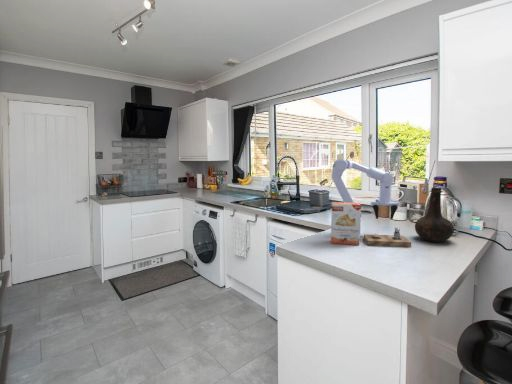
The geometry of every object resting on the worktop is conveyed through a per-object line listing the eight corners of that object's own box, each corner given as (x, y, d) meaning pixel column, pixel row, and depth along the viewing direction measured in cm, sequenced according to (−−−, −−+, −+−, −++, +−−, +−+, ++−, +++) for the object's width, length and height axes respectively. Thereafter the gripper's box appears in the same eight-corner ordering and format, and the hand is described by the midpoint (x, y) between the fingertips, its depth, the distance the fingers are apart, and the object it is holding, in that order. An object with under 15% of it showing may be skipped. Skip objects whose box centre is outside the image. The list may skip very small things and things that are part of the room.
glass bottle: (433, 246, 143) (437, 190, 140) (406, 236, 160) (409, 186, 157) (461, 243, 148) (466, 188, 144) (432, 234, 165) (435, 185, 162)
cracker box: (330, 243, 148) (331, 203, 146) (330, 240, 154) (331, 201, 152) (359, 245, 145) (361, 204, 143) (358, 242, 151) (359, 202, 148)
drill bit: (394, 244, 147) (395, 228, 146) (392, 242, 150) (393, 227, 149) (400, 244, 147) (401, 228, 146) (398, 242, 150) (399, 227, 149)
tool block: (368, 245, 145) (368, 240, 145) (363, 238, 157) (363, 234, 156) (411, 247, 142) (411, 242, 142) (402, 240, 154) (403, 235, 153)
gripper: (373, 195, 156) (372, 219, 158) (401, 195, 154) (400, 220, 155) (370, 193, 163) (369, 217, 165) (397, 193, 161) (396, 217, 162)
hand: (384, 218), depth 161 cm, fingers open, 7 cm apart
